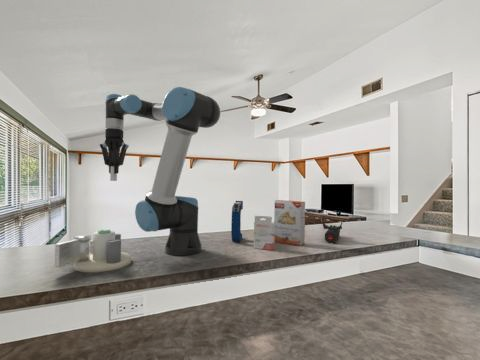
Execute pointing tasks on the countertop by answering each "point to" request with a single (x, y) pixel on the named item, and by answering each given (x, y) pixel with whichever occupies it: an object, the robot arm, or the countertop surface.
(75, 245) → the wing knob
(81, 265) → the base
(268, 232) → the ink cartridge box
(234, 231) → the handheld scanner
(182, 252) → the robot arm
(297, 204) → the cracker box
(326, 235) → the horned monster figurine
